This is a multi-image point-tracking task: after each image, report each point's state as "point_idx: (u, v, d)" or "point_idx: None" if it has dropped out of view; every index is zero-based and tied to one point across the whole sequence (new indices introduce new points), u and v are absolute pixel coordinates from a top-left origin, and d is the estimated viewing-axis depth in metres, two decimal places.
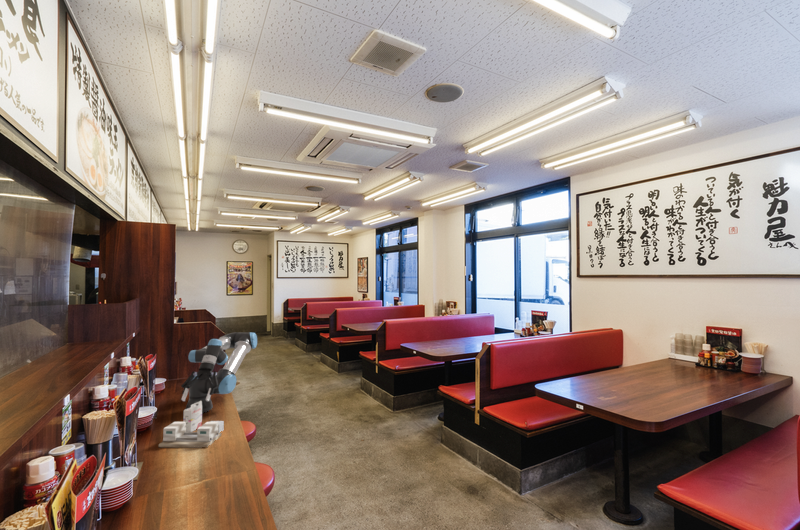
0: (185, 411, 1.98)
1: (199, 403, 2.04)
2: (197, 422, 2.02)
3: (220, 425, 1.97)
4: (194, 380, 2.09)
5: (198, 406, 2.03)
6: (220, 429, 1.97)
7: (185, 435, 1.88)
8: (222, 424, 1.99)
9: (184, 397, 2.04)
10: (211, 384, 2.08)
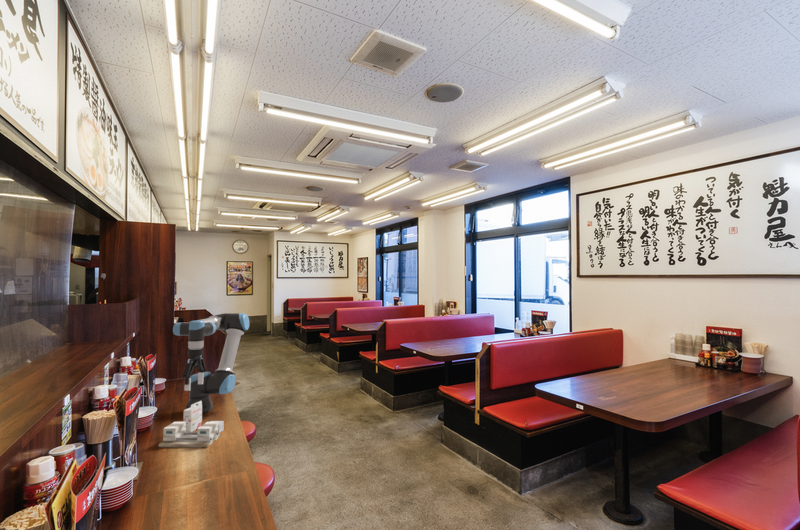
0: (185, 411, 1.98)
1: (199, 403, 2.04)
2: (197, 422, 2.02)
3: (220, 425, 1.97)
4: (196, 365, 2.07)
5: (198, 406, 2.03)
6: (220, 429, 1.97)
7: (185, 435, 1.88)
8: (222, 424, 1.99)
9: (199, 381, 2.09)
10: None
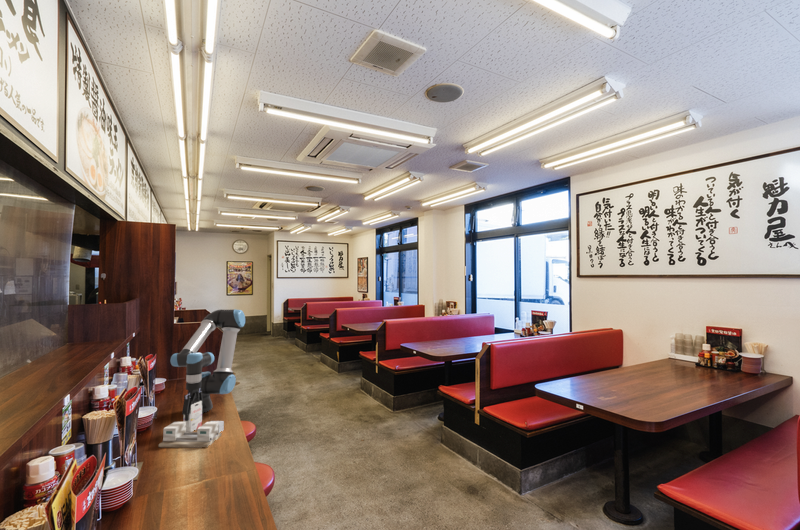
0: None
1: (199, 403, 2.04)
2: (197, 422, 2.02)
3: (220, 425, 1.97)
4: (194, 399, 2.05)
5: (198, 406, 2.03)
6: (220, 429, 1.97)
7: (185, 435, 1.88)
8: (222, 424, 1.99)
9: None
10: None
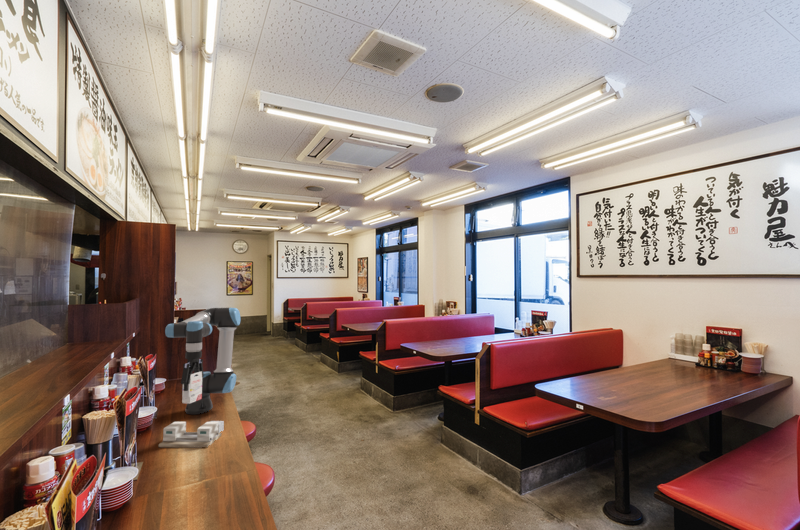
0: None
1: (199, 374, 1.94)
2: (197, 393, 1.92)
3: (220, 425, 1.97)
4: (193, 370, 1.95)
5: (198, 377, 1.93)
6: (220, 429, 1.97)
7: (185, 435, 1.88)
8: (222, 424, 1.99)
9: None
10: None
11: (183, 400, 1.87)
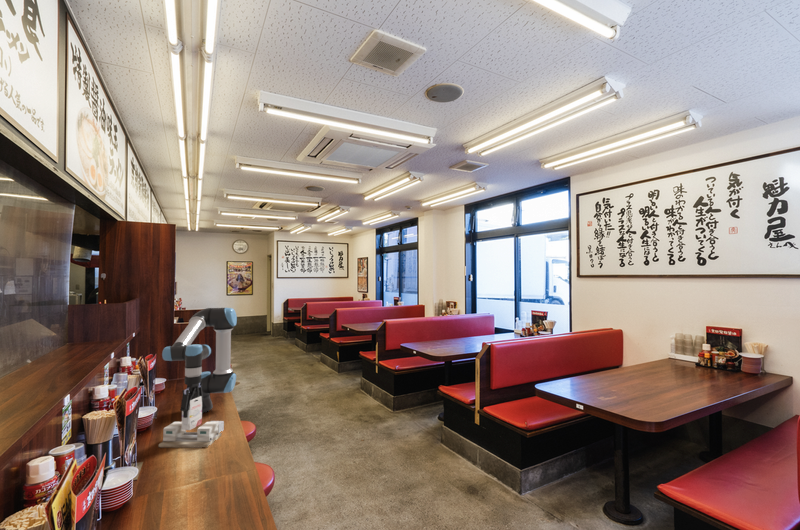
0: None
1: (199, 399, 1.89)
2: (197, 419, 1.87)
3: (220, 425, 1.97)
4: None
5: (198, 402, 1.88)
6: (220, 429, 1.97)
7: (185, 435, 1.88)
8: (222, 424, 1.99)
9: None
10: None
11: (183, 427, 1.83)
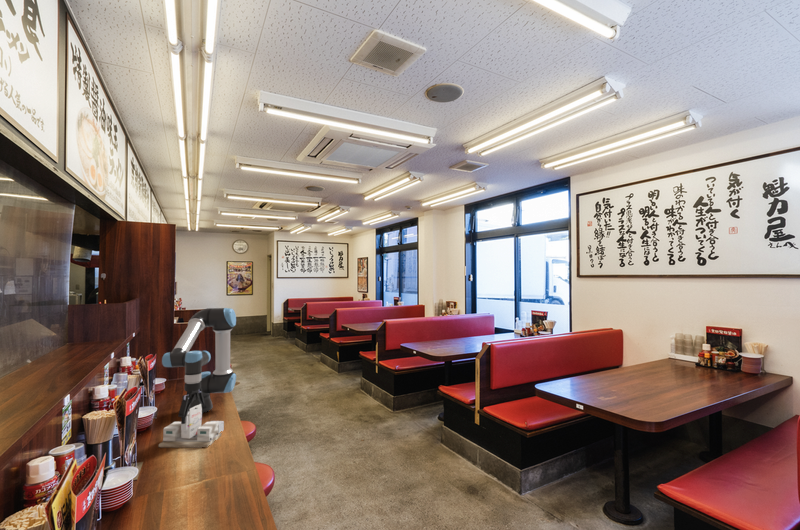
0: None
1: (198, 406, 1.89)
2: (197, 427, 1.87)
3: (220, 425, 1.97)
4: (194, 400, 1.91)
5: (197, 410, 1.88)
6: (220, 429, 1.97)
7: None
8: (222, 424, 1.99)
9: None
10: None
11: (182, 435, 1.83)
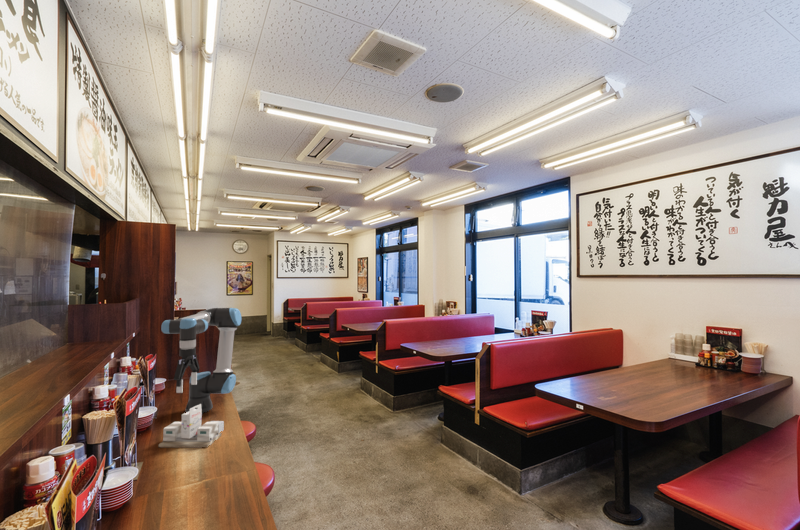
0: (183, 415, 1.83)
1: (198, 406, 1.89)
2: (197, 427, 1.87)
3: (220, 425, 1.97)
4: (189, 365, 1.96)
5: (197, 410, 1.88)
6: (220, 429, 1.97)
7: None
8: (222, 424, 1.99)
9: (193, 381, 1.99)
10: None
11: (182, 435, 1.83)
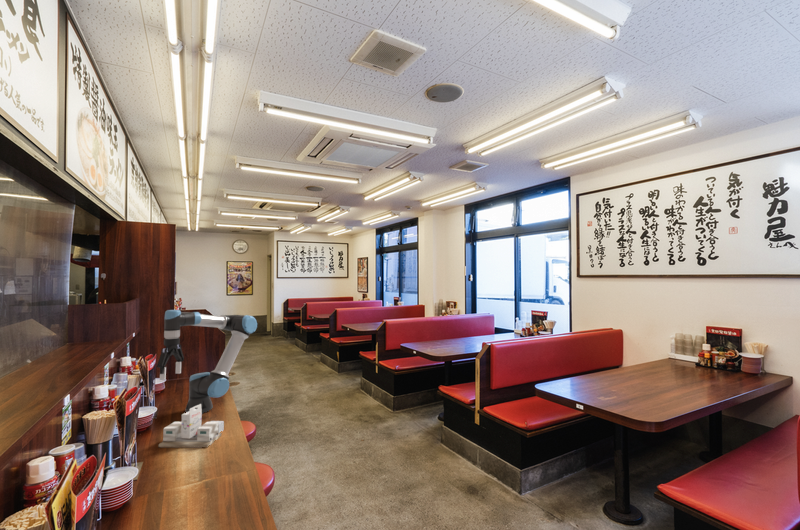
0: (183, 415, 1.83)
1: (198, 406, 1.89)
2: (197, 427, 1.87)
3: (220, 425, 1.97)
4: None
5: (197, 410, 1.88)
6: (220, 429, 1.97)
7: None
8: (222, 424, 1.99)
9: (177, 370, 2.09)
10: None
11: (182, 435, 1.83)
